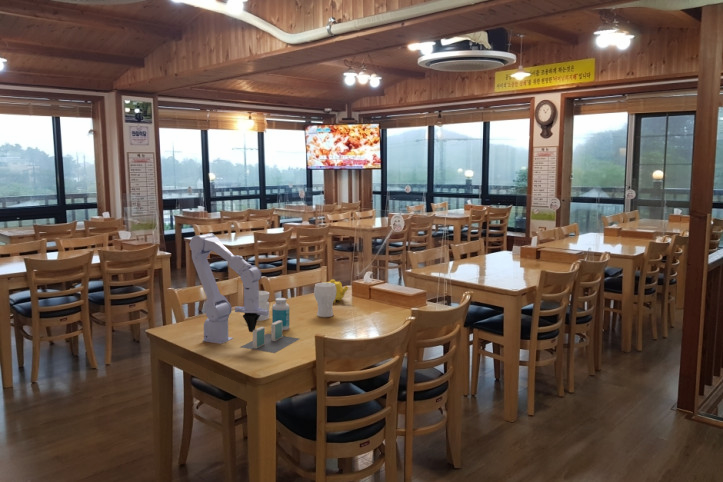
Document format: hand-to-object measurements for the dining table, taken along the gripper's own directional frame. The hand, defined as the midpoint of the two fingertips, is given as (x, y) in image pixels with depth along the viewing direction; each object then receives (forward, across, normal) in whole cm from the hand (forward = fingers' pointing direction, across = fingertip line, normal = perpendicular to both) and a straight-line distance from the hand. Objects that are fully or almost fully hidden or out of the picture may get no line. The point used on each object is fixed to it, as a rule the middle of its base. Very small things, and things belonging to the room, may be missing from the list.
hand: (251, 331), depth 229 cm
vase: (+6, -20, +36) cm, 42 cm away
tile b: (+6, +5, +11) cm, 13 cm away
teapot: (+6, -4, +81) cm, 81 cm away
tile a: (+6, +3, 0) cm, 6 cm away
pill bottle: (+6, -2, +25) cm, 26 cm away
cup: (+6, +5, +54) cm, 55 cm away
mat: (+6, +5, +6) cm, 10 cm away
